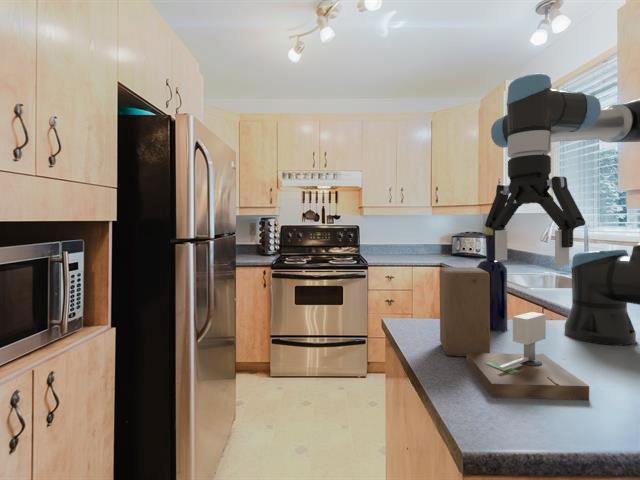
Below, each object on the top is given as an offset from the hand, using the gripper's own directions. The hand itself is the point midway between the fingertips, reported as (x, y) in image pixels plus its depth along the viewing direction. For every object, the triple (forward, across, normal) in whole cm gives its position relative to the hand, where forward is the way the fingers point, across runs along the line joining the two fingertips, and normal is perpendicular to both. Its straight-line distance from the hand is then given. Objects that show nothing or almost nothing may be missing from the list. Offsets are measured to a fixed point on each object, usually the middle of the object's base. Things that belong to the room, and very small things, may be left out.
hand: (529, 262), depth 74 cm
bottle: (+23, +29, -20) cm, 42 cm away
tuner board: (+23, -1, +4) cm, 23 cm away
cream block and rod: (+20, -1, +3) cm, 20 cm away
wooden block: (+23, +16, +2) cm, 28 cm away
